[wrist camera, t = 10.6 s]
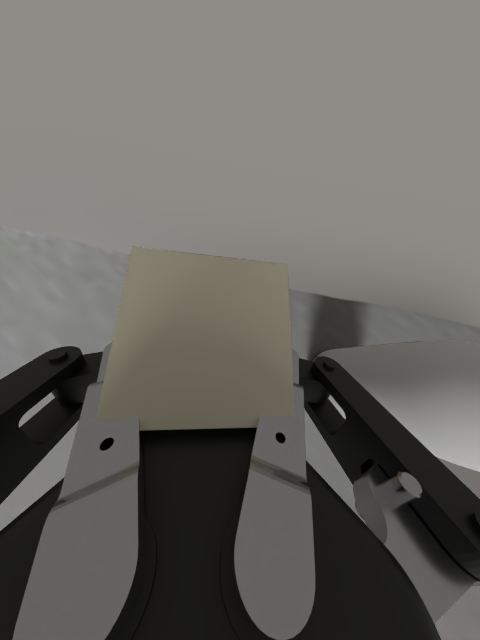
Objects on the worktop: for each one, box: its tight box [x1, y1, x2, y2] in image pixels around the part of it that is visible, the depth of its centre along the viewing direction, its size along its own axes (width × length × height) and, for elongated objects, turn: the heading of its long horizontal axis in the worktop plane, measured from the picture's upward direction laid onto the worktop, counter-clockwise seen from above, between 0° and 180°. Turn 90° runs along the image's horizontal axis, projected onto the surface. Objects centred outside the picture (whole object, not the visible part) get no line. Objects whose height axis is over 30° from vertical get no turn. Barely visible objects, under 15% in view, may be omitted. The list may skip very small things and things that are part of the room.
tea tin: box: [96, 247, 295, 430], centre depth 10 cm, size 5×5×11 cm
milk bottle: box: [313, 340, 480, 472], centre depth 12 cm, size 8×8×20 cm
